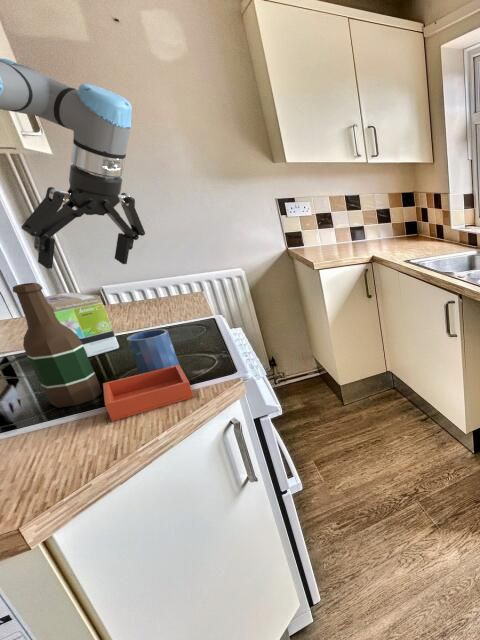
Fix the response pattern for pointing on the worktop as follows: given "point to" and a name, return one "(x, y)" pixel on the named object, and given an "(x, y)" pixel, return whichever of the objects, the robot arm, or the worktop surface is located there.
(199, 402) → the worktop surface
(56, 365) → the beer bottle
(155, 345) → the blue cup
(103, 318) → the tea box
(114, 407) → the red tray
